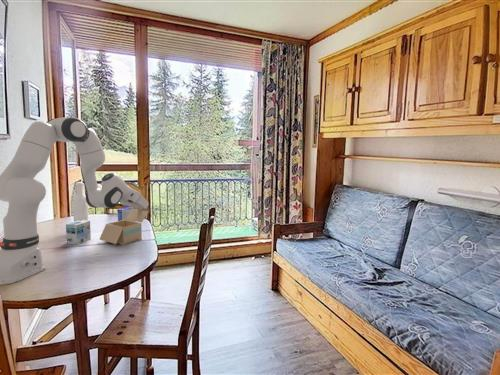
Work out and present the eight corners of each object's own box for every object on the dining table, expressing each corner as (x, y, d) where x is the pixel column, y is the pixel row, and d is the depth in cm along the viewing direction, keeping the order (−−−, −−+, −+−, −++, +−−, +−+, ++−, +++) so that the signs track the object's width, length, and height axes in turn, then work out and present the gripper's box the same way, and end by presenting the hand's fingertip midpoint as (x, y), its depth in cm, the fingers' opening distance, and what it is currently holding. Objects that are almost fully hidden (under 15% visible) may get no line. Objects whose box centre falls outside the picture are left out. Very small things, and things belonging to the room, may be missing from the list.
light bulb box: (77, 245, 161) (76, 225, 160) (66, 243, 162) (65, 224, 161) (91, 239, 172) (90, 220, 170) (80, 238, 173) (80, 219, 171)
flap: (149, 209, 178) (150, 209, 178) (134, 206, 184) (134, 206, 185) (141, 222, 173) (141, 222, 174) (125, 218, 180) (126, 219, 180)
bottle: (72, 231, 185) (69, 181, 181) (86, 229, 191) (84, 181, 187) (76, 234, 180) (74, 183, 176) (91, 231, 186) (89, 182, 182)
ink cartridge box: (130, 224, 205) (130, 203, 203) (136, 226, 202) (135, 204, 200) (117, 227, 196) (116, 205, 194) (122, 229, 193) (122, 206, 191)
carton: (116, 246, 160) (115, 229, 159) (99, 242, 167) (98, 225, 166) (141, 239, 174) (141, 222, 173) (125, 234, 181) (124, 219, 180)
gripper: (110, 197, 174) (125, 211, 184) (135, 201, 164) (149, 216, 174) (117, 188, 178) (131, 202, 187) (141, 192, 168) (155, 207, 177)
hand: (140, 209), depth 181 cm, fingers closed, pressing on flap
